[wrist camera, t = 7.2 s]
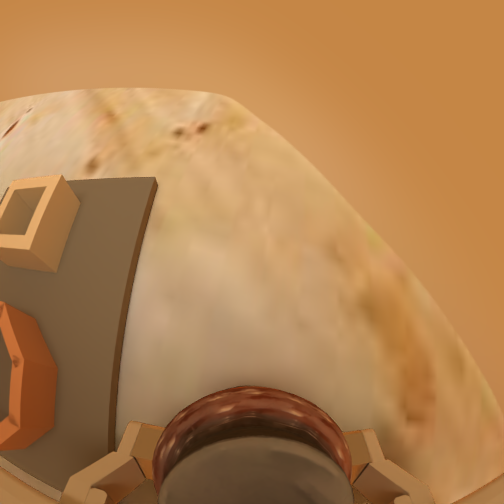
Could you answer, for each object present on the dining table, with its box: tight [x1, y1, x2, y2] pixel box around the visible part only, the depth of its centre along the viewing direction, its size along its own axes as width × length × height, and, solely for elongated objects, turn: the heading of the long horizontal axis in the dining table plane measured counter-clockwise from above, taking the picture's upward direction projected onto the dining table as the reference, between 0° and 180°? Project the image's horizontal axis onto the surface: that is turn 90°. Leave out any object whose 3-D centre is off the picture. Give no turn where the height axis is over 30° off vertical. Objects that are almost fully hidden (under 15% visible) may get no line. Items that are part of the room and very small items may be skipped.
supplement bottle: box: [152, 386, 354, 504], centre depth 8 cm, size 6×6×11 cm
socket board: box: [0, 175, 158, 492], centre depth 14 cm, size 24×18×4 cm
